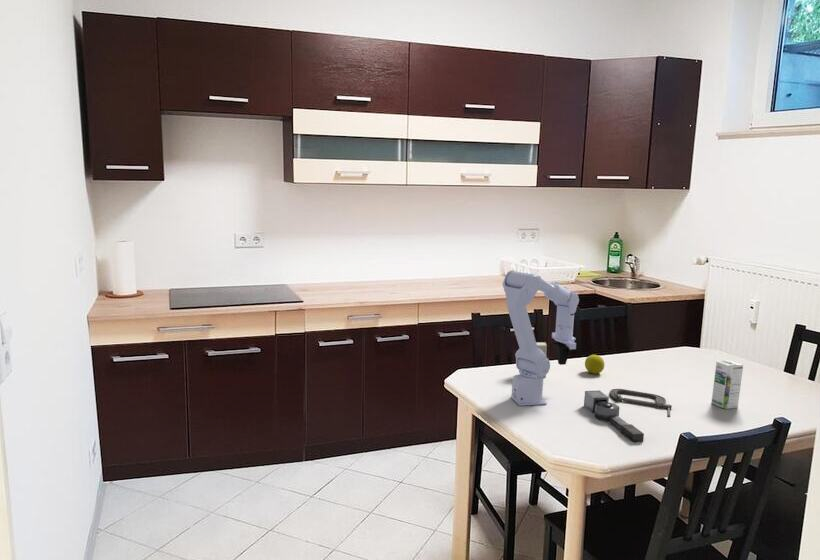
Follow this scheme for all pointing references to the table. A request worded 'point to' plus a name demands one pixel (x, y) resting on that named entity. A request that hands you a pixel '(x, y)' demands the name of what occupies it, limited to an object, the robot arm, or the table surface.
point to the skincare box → (542, 347)
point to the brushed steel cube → (593, 399)
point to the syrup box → (727, 384)
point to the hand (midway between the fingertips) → (561, 364)
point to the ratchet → (616, 420)
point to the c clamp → (658, 400)
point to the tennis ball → (594, 364)
